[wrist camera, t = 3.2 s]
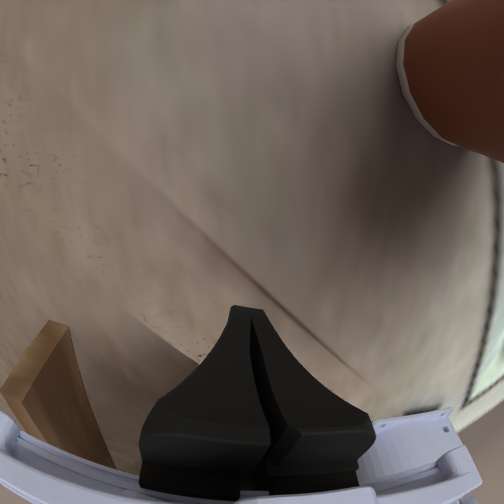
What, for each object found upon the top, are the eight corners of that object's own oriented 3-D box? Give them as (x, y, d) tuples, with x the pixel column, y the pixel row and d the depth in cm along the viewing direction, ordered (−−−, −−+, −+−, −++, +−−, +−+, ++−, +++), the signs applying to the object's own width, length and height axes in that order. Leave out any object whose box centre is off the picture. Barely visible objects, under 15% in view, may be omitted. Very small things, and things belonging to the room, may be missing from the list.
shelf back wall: (68, 326, 13) (21, 402, 8) (124, 483, 25) (117, 519, 19) (48, 320, 13) (-1, 390, 8) (113, 480, 24) (106, 515, 19)
